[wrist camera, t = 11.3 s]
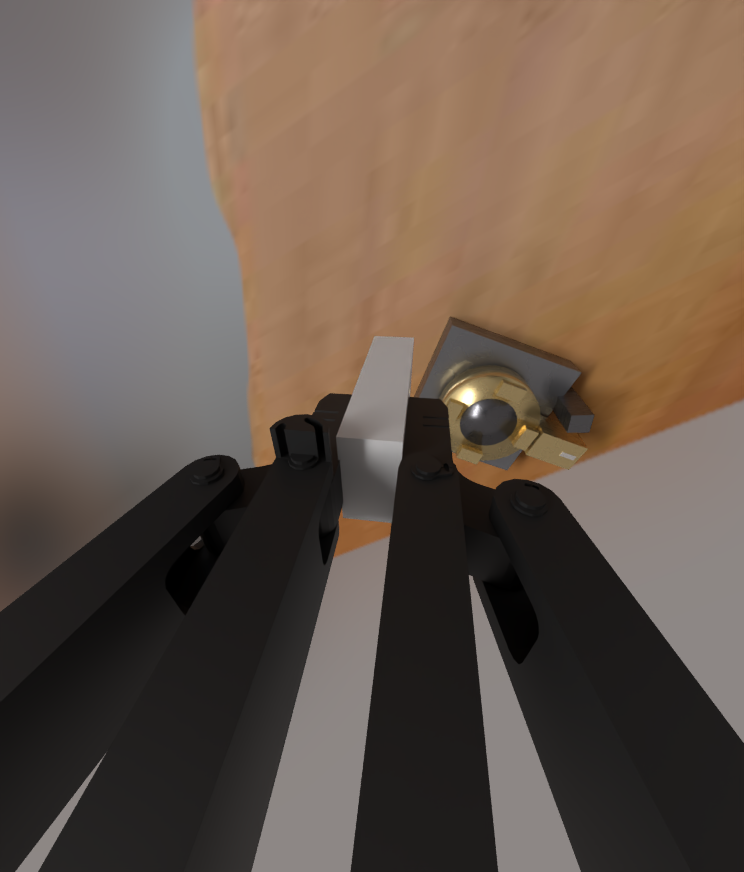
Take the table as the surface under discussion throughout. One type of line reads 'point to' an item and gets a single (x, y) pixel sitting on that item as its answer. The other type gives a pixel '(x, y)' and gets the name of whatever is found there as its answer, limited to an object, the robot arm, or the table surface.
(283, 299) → the table surface
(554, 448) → the brass ring with ball
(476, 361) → the housing
